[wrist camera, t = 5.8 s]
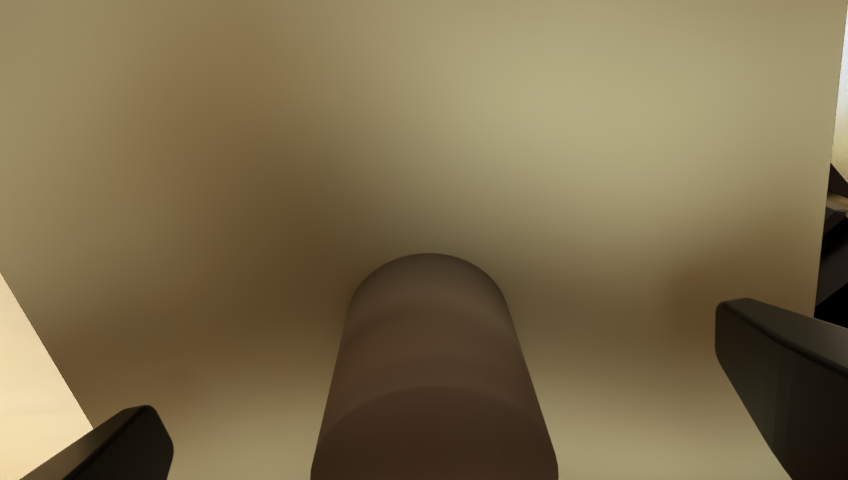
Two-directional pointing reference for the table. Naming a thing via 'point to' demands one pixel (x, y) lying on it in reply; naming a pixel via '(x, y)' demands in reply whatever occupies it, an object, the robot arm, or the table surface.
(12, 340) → the table surface
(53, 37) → the lid
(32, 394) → the table surface
